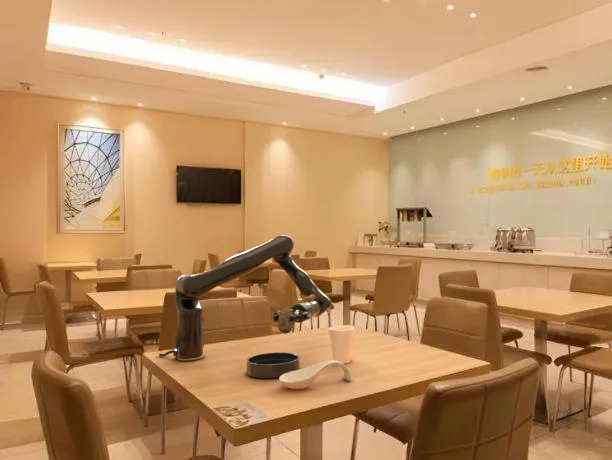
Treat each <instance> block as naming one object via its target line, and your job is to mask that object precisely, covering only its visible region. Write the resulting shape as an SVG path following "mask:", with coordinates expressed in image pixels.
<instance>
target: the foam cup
mask: <svg viewBox="0 0 612 460" xmlns="http://www.w3.org/2000/svg"><path fill="white" fill-rule="evenodd" d="M328 332H329V339H330V347H331V354H332V360H336V361H339V362H341V363H343V364H344V365H346V364H349V363H350V362H351V359H352V351H353V350H352V349H353V342H354V334H355V327H354V326H350V325H337V326H331V327H329V330H328Z"/></svg>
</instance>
